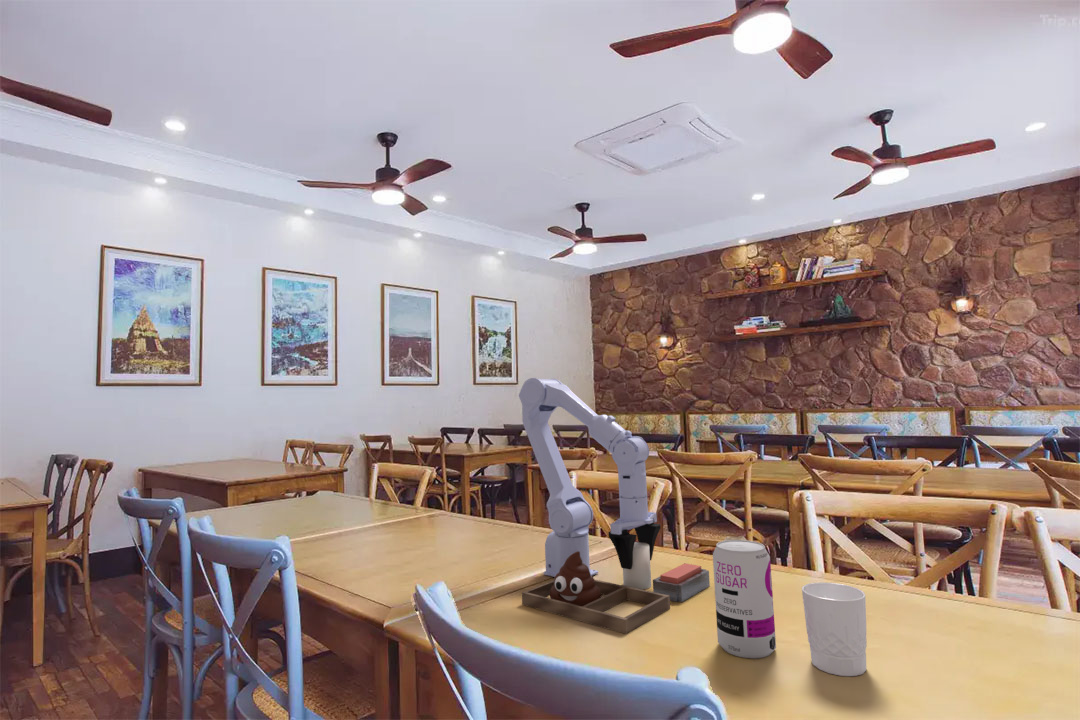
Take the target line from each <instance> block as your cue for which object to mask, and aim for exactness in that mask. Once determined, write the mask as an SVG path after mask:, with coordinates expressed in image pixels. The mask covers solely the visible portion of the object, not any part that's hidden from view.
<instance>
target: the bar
mask: <svg viewBox="0 0 1080 720" xmlns="http://www.w3.org/2000/svg"><path fill="white" fill-rule="evenodd" d="M701 569H702V566H701V565H698V564H697V565H696V564H692V563H691V564H690V563H683V564H680V565H678V566H676V567H674V568H672V569H670V570H668V571H666V572H664V573H662V574H660V575H659V577H660V581H665V582H670V583H675V584H680V583H682V582H683V581H685V580H687V579H689V578H691V577H693V576H695V575H697V574H699V573H700V572H702V571H701Z"/></svg>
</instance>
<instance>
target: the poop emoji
mask: <svg viewBox="0 0 1080 720" xmlns="http://www.w3.org/2000/svg"><path fill="white" fill-rule="evenodd" d="M594 579H595V578H594V577H593V575H592V576H591V575H590V571H589V568H588V567H587V565H585V564H584V563H582V559H581V557H580V552H579V551H577V552H575V553H573V554H572V555H570V556H569V557H568V558H567V559H566V561H565V563H564V565H563V566H562V567H561V568H560V571H559V573H557V574H556V576H555V577H554V578H553V580H554V585H553V586H552V588H551V590H550V595H549V598H551V599H555V600H559V601H562V602H566V603H570V604H574V605H578V606H584V605H586V604H588V603H590V602H593V601H595V600H597V599H599V598H601V597H602V594H601V591H600V589H599V588H598V587H597V586H596V585H595V580H596V579H595V580H594Z"/></svg>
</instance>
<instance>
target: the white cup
mask: <svg viewBox="0 0 1080 720" xmlns="http://www.w3.org/2000/svg"><path fill="white" fill-rule="evenodd" d="M801 594H802V600H803V601H802V603H803V609H804V610H803V611H804V619H805V628H806V634H807V641H808V643H809V650H810V658H811V664H812V665H813V666H814V667H815V668H817V669H818V670H820V671H822V672H825V673H828V674H830V675H836V676H841V677H857V676H860V675H864V673H865V672H866V671H867V653H866V649H867V608H866V607H867V606H866V605H867V603H866V593H865V592H864V591H863V590H862V589H859V588H857V587H854V586H851V585H847V584H842V583H836V582H812V583H807V584H804V585H803V586H801Z"/></svg>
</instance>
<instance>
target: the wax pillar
mask: <svg viewBox="0 0 1080 720" xmlns="http://www.w3.org/2000/svg"><path fill="white" fill-rule="evenodd" d="M651 574H652V572H651V560H650V548H649V544H647V543H642V542H638V541H635V543H634V547H633V564H632V569H625V568H622V580H623V584H622V585H623V586H627V587H632V588H637V589H641V590H648V589H650V588H651V587H652V576H651Z"/></svg>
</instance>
